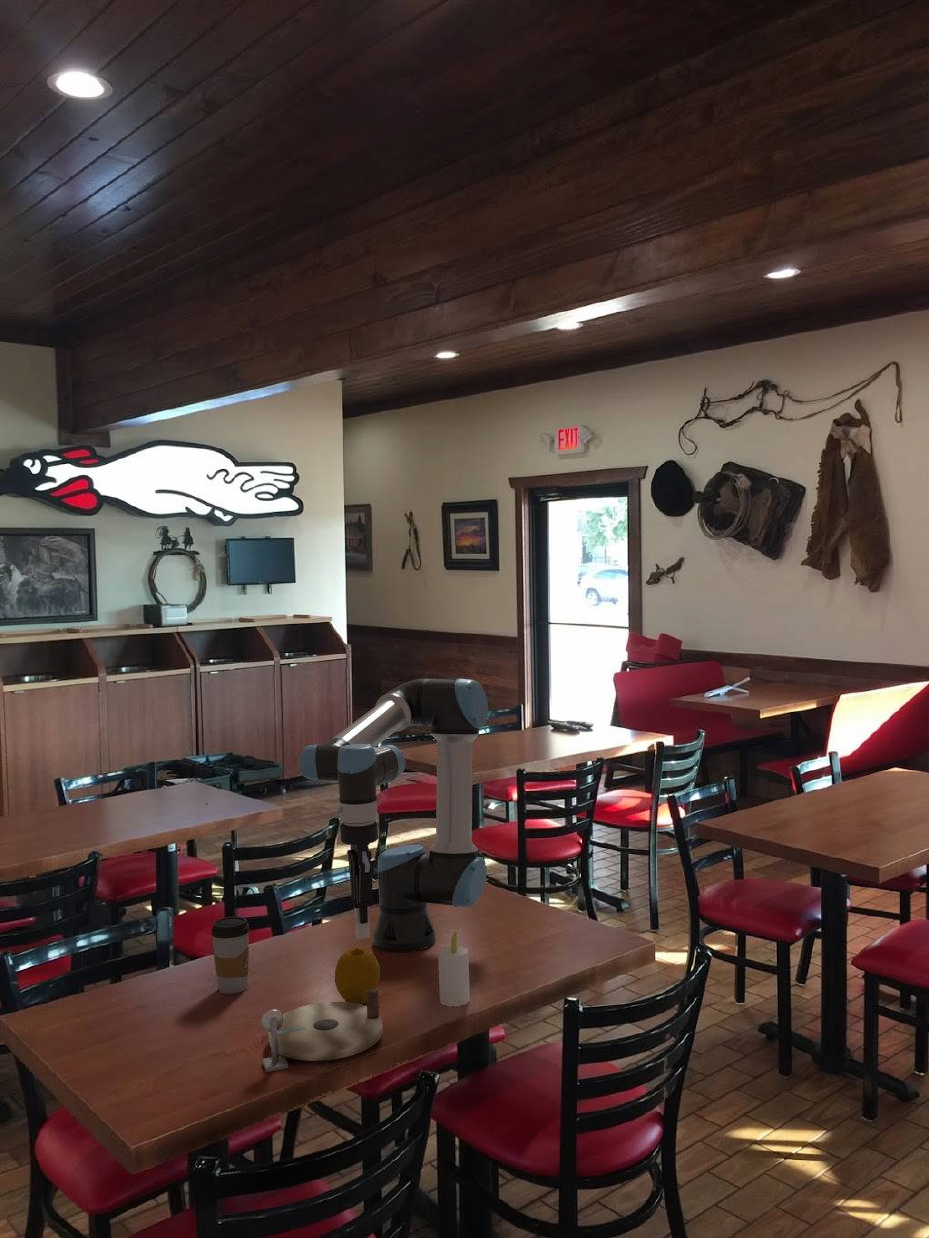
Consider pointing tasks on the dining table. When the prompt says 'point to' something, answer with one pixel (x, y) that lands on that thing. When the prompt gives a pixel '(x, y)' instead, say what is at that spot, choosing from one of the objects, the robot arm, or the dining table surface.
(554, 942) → the dining table surface
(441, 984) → the candle
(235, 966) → the coffee cup
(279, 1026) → the indicator stand
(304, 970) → the dining table surface
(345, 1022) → the turntable
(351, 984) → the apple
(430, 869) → the robot arm
